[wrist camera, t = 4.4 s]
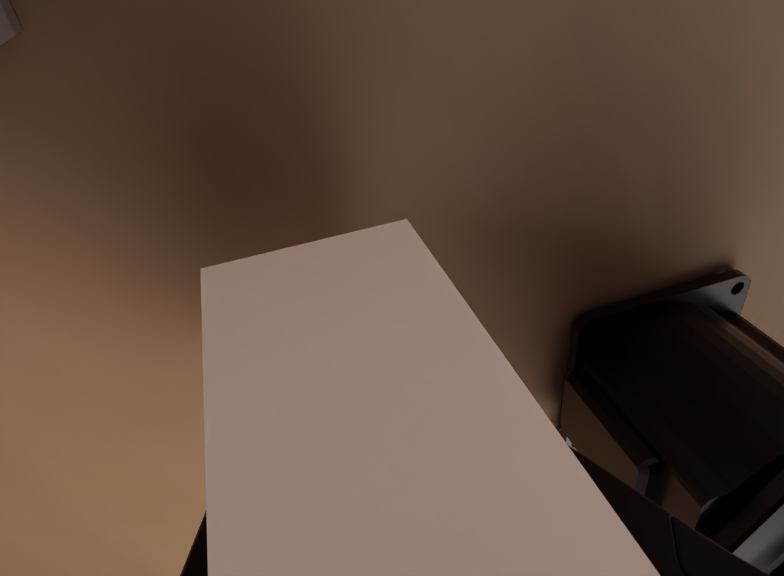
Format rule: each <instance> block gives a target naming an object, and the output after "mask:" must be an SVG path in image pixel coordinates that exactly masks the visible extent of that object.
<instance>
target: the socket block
mask: <svg viewBox="0 0 784 576" xmlns="http://www.w3.org/2000/svg"><path fill="white" fill-rule="evenodd" d="M21 31H23V30H22V28H21V26H20V24H19V21H18V19H17V17H16V15H15V13H14V10H13V8H12V6H11V4H10V2H9V0H0V45H2V44H3V43H5V42H6V41H8V40H9V39H11V38H12V37H14V36H15V35H17V34H18V33H20V32H21Z"/></svg>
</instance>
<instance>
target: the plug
mask: <svg viewBox="0 0 784 576" xmlns="http://www.w3.org/2000/svg"><path fill="white" fill-rule="evenodd" d="M200 270H201V311H202V352H203V394H204V435H205V476H206V518H207V559H208V576H660V574H659V573H658V571H657V570H656V569H655V567H654V566H653V564H652V563H651V562H650V560H649V559H648V557H647V556H646V555H645V553H644V552H643V550H642V549H641V548H640V546H639V545H638V543H637V542H636V541H635V539H634V538H633V536H632V535H631V534H630V532H629V531H628V529H627V528H626V526H625V525H624V524H623V522H622V521H621V519H620V518H619V517H618V515H617V514H616V512H615V511H614V510H613V508H612V507H611V505H610V504H609V503H608V501H607V500H606V498H605V497H604V496H603V494H602V493H601V491H600V490H599V489H598V487H597V486H596V484H595V483H594V481H593V480H592V479H591V477H590V476H589V474H588V473H587V472H586V470H585V469H584V467H583V466H582V465H581V463H580V462H579V460H578V459H577V458H576V456H575V455H574V453H573V452H572V451H571V449H570V448H569V446H568V445H567V443H566V442H565V441H564V439H563V438H562V436H561V435H560V434H559V432H558V431H557V429H556V428H555V427H554V425H553V424H552V422H551V421H550V420H549V418H548V417H547V415H546V414H545V413H544V411H543V410H542V408H541V407H540V406H539V404H538V403H537V401H536V400H535V398H534V397H533V396H532V394H531V393H530V391H529V390H528V389H527V387H526V386H525V384H524V383H523V382H522V380H521V379H520V377H519V376H518V375H517V373H516V372H515V370H514V369H513V368H512V366H511V365H510V363H509V362H508V360H507V359H506V358H505V356H504V355H503V353H502V352H501V351H500V349H499V348H498V346H497V345H496V344H495V342H494V341H493V339H492V338H491V337H490V335H489V334H488V332H487V331H486V330H485V328H484V327H483V325H482V324H481V323H480V321H479V320H478V318H477V317H476V315H475V314H474V313H473V311H472V310H471V308H470V307H469V306H468V304H467V303H466V301H465V300H464V299H463V297H462V296H461V294H460V293H459V292H458V290H457V289H456V287H455V286H454V285H453V283H452V282H451V280H450V279H449V278H448V276H447V275H446V273H445V272H444V270H443V269H442V268H441V266H440V265H439V263H438V262H437V261H436V259H435V258H434V256H433V255H432V254H431V252H430V251H429V249H428V248H427V247H426V245H425V244H424V242H423V241H422V240H421V238H420V237H419V235H418V234H417V232H416V231H415V230H414V228H413V227H412V225H411V224H410V223H409V221H408V220H407V219H404V220H400V221H396V222H391V223H387V224H383V225H379V226H375V227H371V228H367V229H362V230H358V231H354V232H350V233H346V234H342V235H338V236H333V237H329V238H325V239H321V240H317V241H313V242H309V243H305V244H300V245H296V246H292V247H288V248H284V249H280V250H276V251H271V252H267V253H263V254H259V255H255V256H251V257H247V258H242V259H238V260H234V261H230V262H226V263H222V264H218V265H213V266H209V267H205V268H201V269H200Z"/></svg>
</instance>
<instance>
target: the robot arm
mask: <svg viewBox="0 0 784 576" xmlns="http://www.w3.org/2000/svg"><path fill="white" fill-rule="evenodd" d="M750 282H751V280H750V278H749V277H748V276H747V275H745V274H744V273H742V272H740V271H739V270H731V271H727V272H724V273H720V274H717V275H713V276H710V277H706V278H703V279H699V280H696V281H693V282H689V283H686V284H682V285H679V286H675V287H672V288H668V289H665V290H661V291H658V292H654V293H651V294H647V295H644V296H641V297H637V298H634V299H630V300H627V301H623V302H620V303H616V304H613V305H609V306H606V307H602V308H599V309H595V310H592V311H589V312H586V313H584V314H581V315H580V316H579V317H578V318H577V319H576V320H575V321H574V323H573V326H572V330H571V339H570V349H569V358H568V368H567V376H566V379H565V383H564V393H563V402H562V412H561V422H560V427H561V434H560V435H561V436H562V438H563V439H564V441H565V442H566V443H567V445H568V446H569V448H570V449H571V451H572V452H573V453H574V455H575V456H576V458H577V459H578V460H579V462H580V463H581V465H582V466H583V467H584V469H585V470H586V472H587V473H588V474H589V476H590V477H591V479H592V480H593V481H594V483H595V484H596V486H597V487H598V489H599V490H600V491H601V493H602V494H603V496H604V497H605V498H606V500H607V501H608V503H609V504H610V505H611V507H612V508H613V510H614V511H615V512H616V514H617V515H618V517H619V518H620V519H621V521H622V522H623V524H624V525H625V526H626V528H627V529H628V531H629V532H630V534H631V535H632V536H633V538H634V539H635V541H636V542H637V543H638V545H639V546H640V548H641V549H642V550H643V552H644V553H645V555H646V556H647V557H648V559H649V560H650V562H651V563H652V564H653V566H654V567H655V569H656V570H657V571H658V573H659V574H660V576H784V347H782V346H781V345H780V344H778V343H777V342H776V341H774V340H773V339H771V338H770V337H769V336H767V335H766V334H765V333H763V332H762V331H760V330H759V329H758V328H756V327H755V326H754V325H752V324H751V323H749V322H748V321H747V320H745V319H744V318H743V317H741V316H740V314H741V311H742V308H743V305H744V302H745V299H746V296H747V293H748V290H749V287H750ZM180 576H208V559H207V518H206V512H205V515H204V517H203V520H202V522H201V525H200V527H199V530H198V532H197V535H196V537H195V540H194V542H193V545H192V547H191V550H190V552H189V555H188V557H187V560H186V562H185V565H184V567H183V570H182V572H181V575H180Z"/></svg>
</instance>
